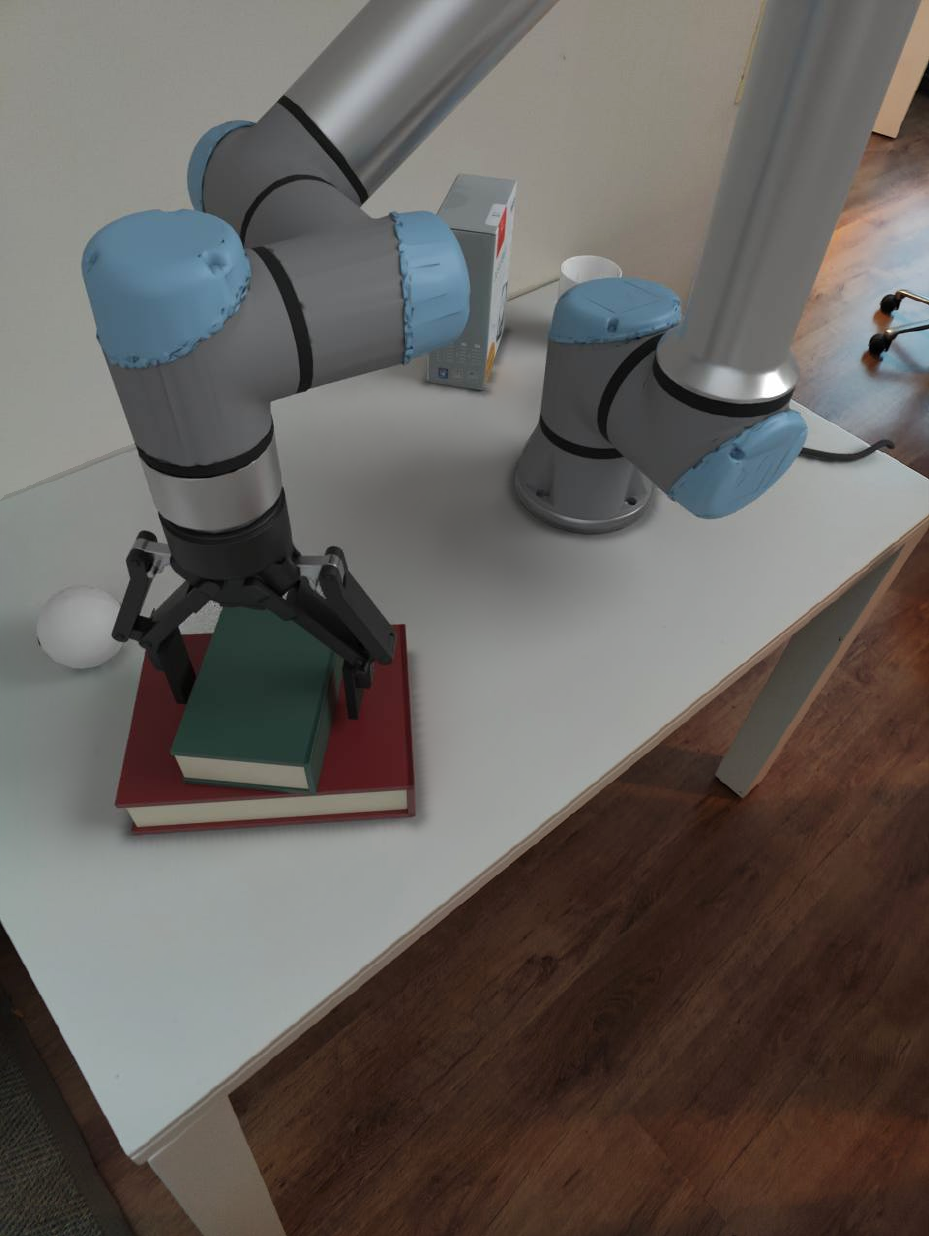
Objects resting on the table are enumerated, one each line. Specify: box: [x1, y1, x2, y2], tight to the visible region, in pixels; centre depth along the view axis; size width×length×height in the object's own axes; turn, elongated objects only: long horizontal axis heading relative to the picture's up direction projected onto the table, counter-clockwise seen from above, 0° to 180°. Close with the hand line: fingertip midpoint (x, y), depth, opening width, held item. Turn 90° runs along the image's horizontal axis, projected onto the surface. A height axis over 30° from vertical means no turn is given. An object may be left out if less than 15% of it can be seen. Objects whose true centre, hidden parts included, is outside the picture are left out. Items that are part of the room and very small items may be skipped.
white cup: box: [557, 254, 623, 300], centre depth 109 cm, size 8×8×10 cm
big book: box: [114, 623, 417, 836], centre depth 68 cm, size 22×16×5 cm
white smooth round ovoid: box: [25, 585, 125, 670], centre depth 73 cm, size 10×7×7 cm
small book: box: [170, 606, 344, 795], centre depth 64 cm, size 10×15×4 cm, turn 175°
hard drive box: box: [426, 172, 518, 391], centre depth 102 cm, size 16×8×20 cm, turn 168°
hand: (271, 698), depth 65 cm, fingers open, 13 cm apart
